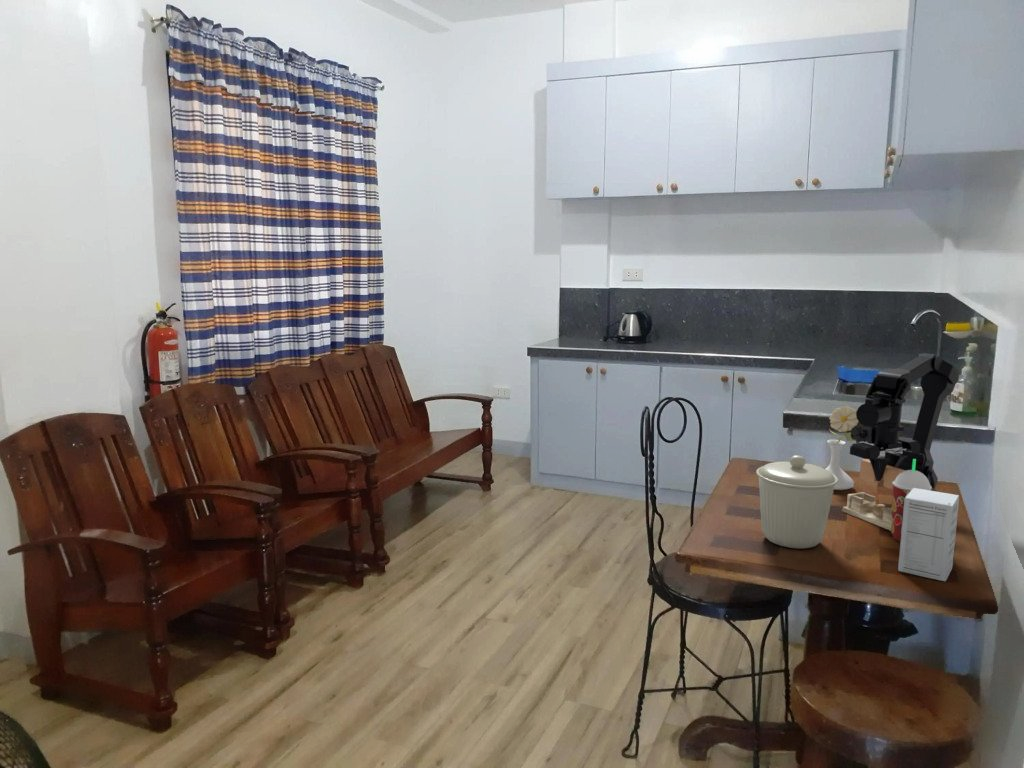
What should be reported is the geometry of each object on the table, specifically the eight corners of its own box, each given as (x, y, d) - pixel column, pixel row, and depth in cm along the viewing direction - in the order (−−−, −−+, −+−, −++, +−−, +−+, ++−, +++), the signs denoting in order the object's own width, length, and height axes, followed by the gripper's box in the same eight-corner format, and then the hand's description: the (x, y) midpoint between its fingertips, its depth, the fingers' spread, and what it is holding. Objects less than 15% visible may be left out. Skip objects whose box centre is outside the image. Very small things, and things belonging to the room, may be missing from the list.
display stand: (864, 507, 204) (865, 491, 204) (916, 527, 190) (918, 509, 189) (842, 511, 201) (843, 494, 200) (893, 531, 187) (895, 514, 186)
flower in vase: (803, 483, 225) (809, 401, 221) (832, 479, 229) (839, 399, 225) (837, 497, 213) (844, 410, 209) (867, 492, 217) (875, 407, 213)
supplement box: (953, 568, 165) (961, 495, 162) (946, 582, 158) (955, 506, 155) (905, 557, 171) (912, 486, 168) (896, 570, 164) (903, 496, 161)
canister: (833, 534, 185) (840, 451, 181) (831, 561, 169) (839, 470, 165) (756, 523, 192) (761, 442, 188) (747, 547, 176) (753, 460, 172)
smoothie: (925, 548, 176) (934, 466, 173) (885, 541, 180) (893, 460, 177) (926, 537, 184) (934, 457, 180) (888, 530, 188) (895, 452, 184)
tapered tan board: (866, 477, 200) (867, 459, 199) (905, 490, 189) (907, 471, 188) (859, 478, 199) (861, 459, 198) (898, 491, 188) (900, 472, 187)
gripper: (887, 411, 202) (882, 468, 205) (835, 417, 195) (830, 475, 197) (924, 420, 192) (918, 479, 195) (870, 427, 185) (865, 488, 187)
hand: (882, 480), depth 194 cm, fingers closed on tapered tan board, 2 cm apart
